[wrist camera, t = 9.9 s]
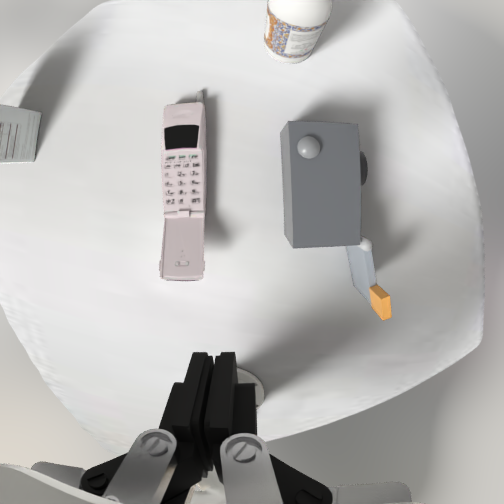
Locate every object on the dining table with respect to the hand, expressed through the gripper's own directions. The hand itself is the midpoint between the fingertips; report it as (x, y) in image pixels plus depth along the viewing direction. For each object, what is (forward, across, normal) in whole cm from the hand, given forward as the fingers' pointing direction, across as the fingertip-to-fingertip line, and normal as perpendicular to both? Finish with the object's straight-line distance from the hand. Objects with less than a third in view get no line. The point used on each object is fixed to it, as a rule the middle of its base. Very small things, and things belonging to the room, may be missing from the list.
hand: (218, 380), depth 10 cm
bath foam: (+29, -8, -28) cm, 41 cm away
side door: (+29, -16, +4) cm, 33 cm away
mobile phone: (+30, +7, -8) cm, 32 cm away
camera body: (+29, -10, -7) cm, 32 cm away
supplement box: (+29, +39, -21) cm, 53 cm away
